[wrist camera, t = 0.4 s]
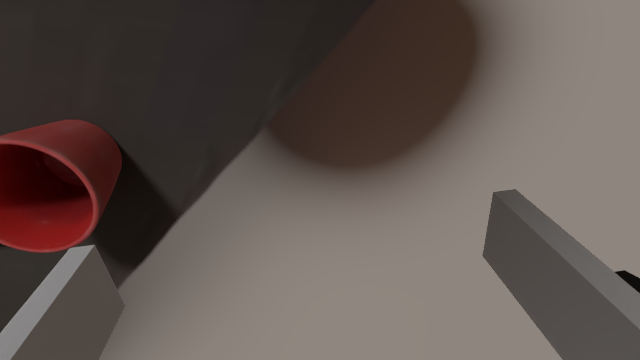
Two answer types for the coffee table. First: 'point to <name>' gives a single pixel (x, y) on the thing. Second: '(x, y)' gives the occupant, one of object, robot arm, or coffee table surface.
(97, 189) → the flower pot
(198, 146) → the coffee table surface
